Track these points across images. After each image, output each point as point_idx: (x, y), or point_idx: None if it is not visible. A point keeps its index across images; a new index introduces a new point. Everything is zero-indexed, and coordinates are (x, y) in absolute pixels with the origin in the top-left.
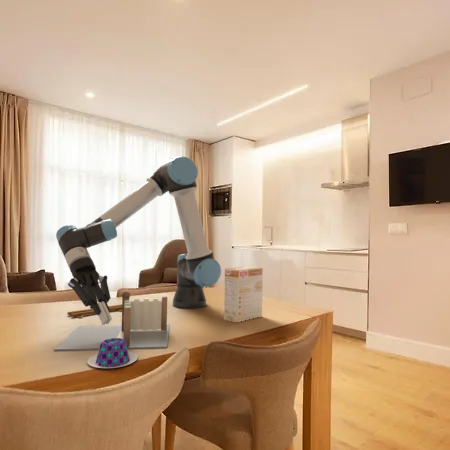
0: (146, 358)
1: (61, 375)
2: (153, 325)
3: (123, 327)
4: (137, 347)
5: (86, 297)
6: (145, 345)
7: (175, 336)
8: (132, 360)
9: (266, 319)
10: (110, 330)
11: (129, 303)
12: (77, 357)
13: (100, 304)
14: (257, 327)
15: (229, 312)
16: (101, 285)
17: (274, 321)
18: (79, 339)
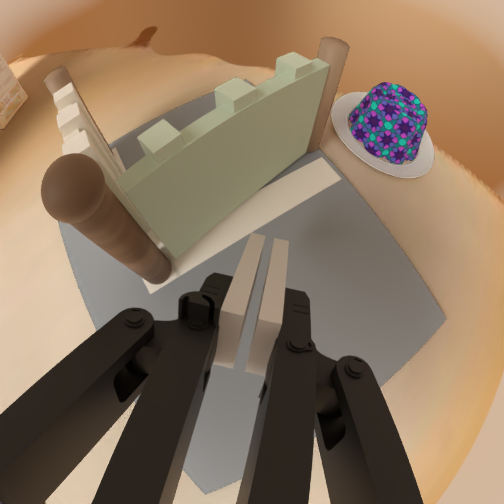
0: None
1: (474, 175)
2: (117, 164)
3: (166, 260)
4: None
5: (375, 402)
6: None
7: (146, 111)
8: (358, 100)
9: None
10: None
11: (226, 84)
12: (430, 216)
13: (273, 303)
14: (58, 63)
15: (5, 101)
16: (36, 493)
17: (25, 72)
18: (347, 346)
